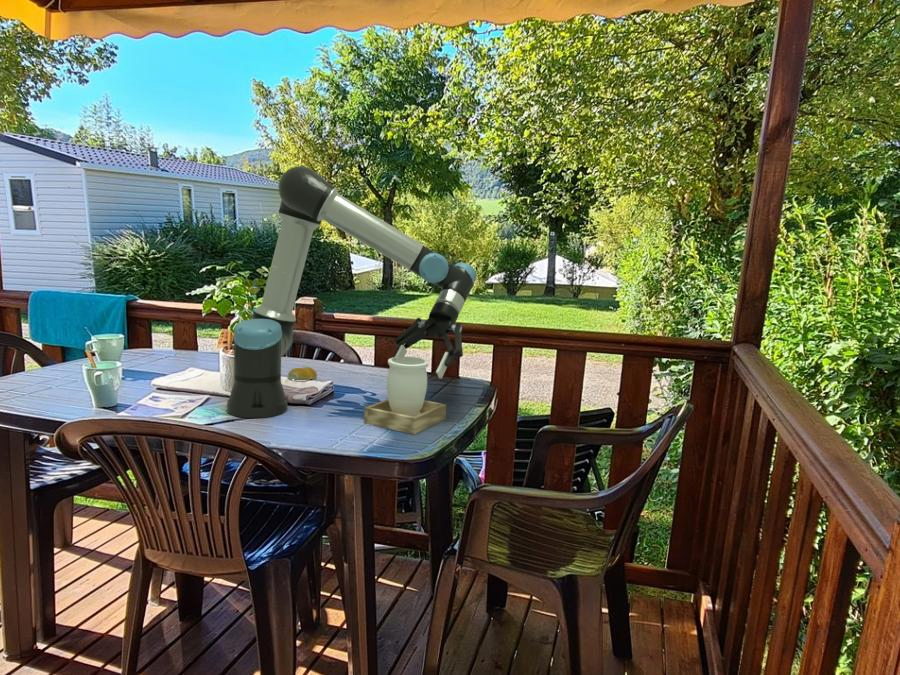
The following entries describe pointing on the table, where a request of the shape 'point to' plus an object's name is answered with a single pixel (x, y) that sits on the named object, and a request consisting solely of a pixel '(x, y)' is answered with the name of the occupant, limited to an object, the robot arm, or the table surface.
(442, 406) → the holder
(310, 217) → the robot arm
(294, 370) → the bread roll
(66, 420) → the table surface
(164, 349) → the table surface
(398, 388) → the jar
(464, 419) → the table surface
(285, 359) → the table surface
